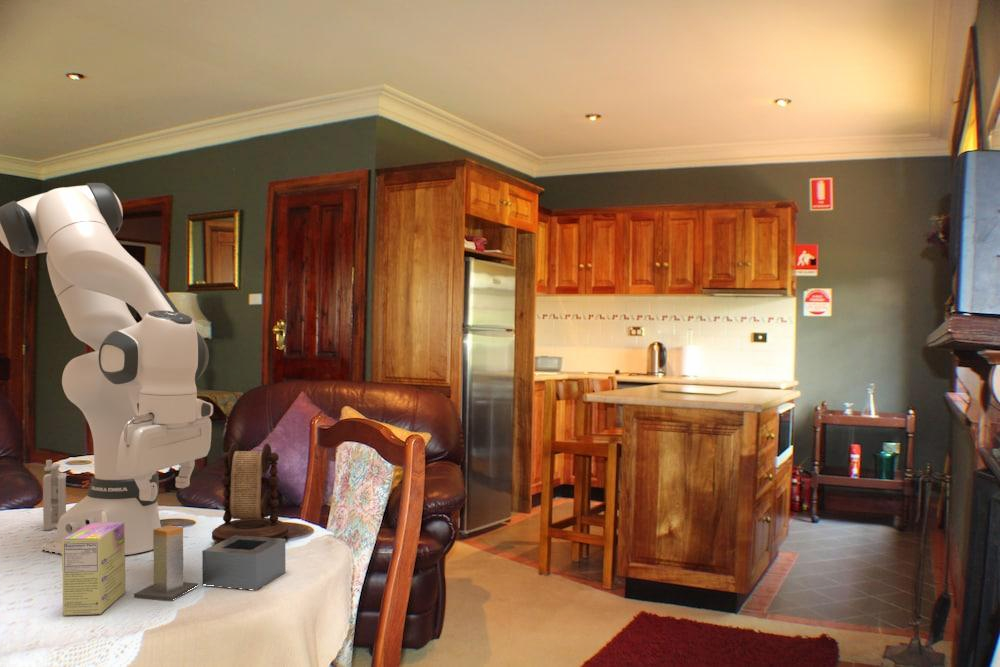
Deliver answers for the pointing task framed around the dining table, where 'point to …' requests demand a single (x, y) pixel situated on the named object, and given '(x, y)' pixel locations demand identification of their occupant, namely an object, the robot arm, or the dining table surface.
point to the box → (93, 568)
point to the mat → (152, 594)
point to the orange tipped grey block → (168, 558)
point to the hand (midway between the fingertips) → (165, 493)
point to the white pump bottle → (53, 495)
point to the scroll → (250, 495)
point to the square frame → (243, 562)
